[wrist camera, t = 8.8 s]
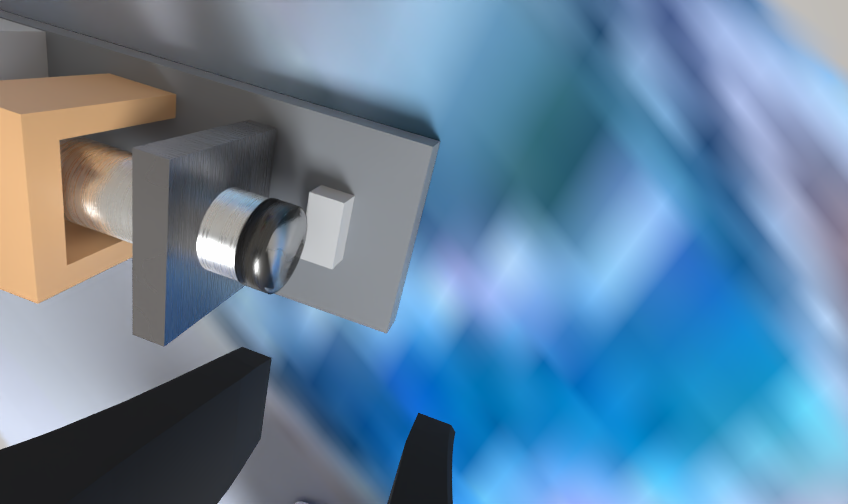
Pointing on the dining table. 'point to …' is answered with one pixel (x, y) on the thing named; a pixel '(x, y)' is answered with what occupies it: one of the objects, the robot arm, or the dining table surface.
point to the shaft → (187, 219)
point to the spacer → (59, 176)
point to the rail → (274, 163)
